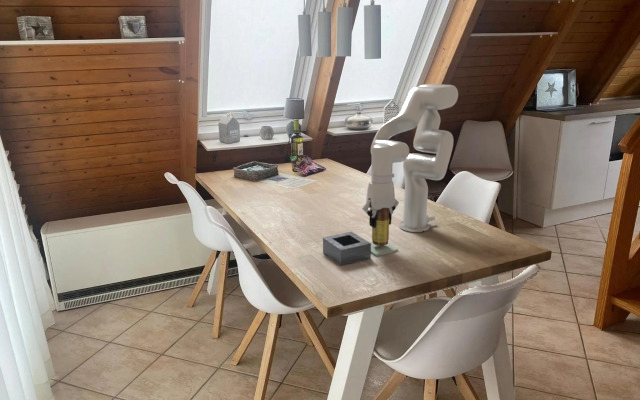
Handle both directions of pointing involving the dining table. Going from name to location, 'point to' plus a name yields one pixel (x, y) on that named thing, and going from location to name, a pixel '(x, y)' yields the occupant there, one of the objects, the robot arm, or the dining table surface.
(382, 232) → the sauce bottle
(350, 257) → the collar
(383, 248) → the mat
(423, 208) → the robot arm
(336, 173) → the dining table surface
